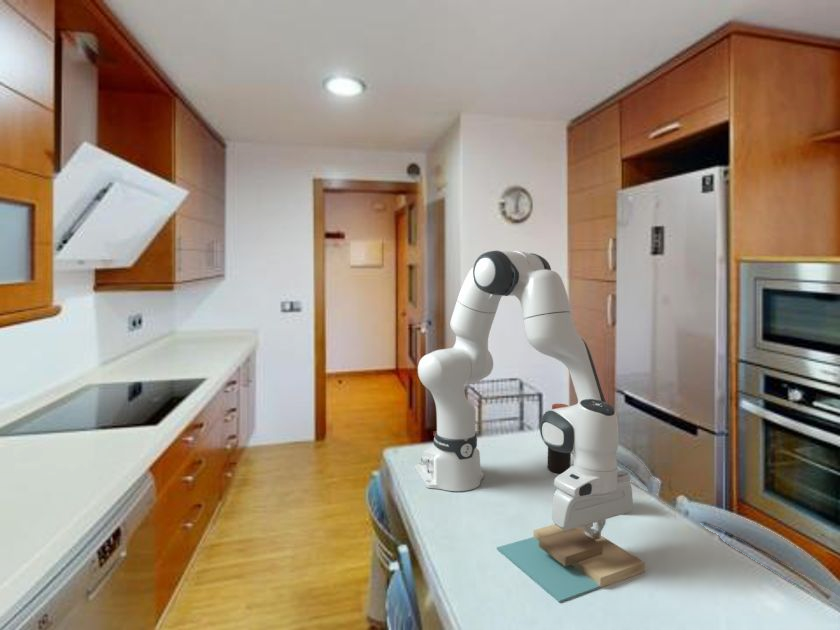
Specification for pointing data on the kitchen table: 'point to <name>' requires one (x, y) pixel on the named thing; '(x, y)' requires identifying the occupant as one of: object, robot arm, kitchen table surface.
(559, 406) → the bottle
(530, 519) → the kitchen table surface
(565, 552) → the tile
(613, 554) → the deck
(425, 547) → the kitchen table surface
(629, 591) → the kitchen table surface
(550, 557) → the mat
